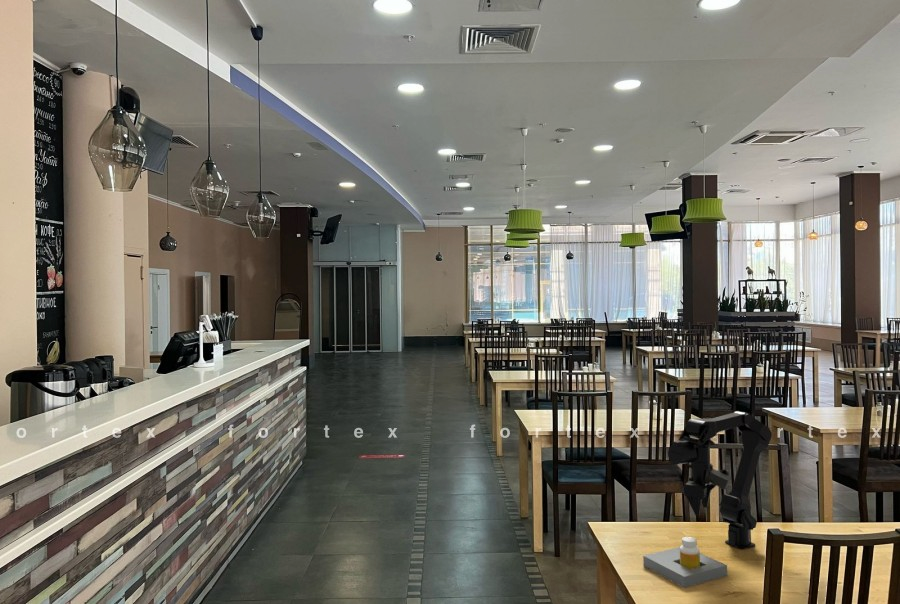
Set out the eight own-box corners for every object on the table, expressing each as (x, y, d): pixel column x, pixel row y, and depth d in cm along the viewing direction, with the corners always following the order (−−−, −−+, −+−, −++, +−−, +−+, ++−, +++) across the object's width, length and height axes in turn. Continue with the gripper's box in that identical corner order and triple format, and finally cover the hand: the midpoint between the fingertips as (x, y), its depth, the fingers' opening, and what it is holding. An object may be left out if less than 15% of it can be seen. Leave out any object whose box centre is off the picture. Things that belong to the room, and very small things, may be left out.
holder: (684, 555, 188) (684, 545, 188) (727, 575, 173) (727, 565, 173) (643, 565, 181) (643, 555, 181) (684, 587, 166) (684, 576, 166)
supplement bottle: (702, 578, 172) (701, 543, 172) (681, 576, 173) (680, 542, 173) (698, 570, 177) (697, 536, 177) (678, 568, 178) (677, 535, 179)
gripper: (720, 470, 177) (722, 525, 176) (734, 457, 192) (736, 507, 192) (681, 465, 183) (682, 518, 183) (697, 453, 198) (698, 501, 198)
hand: (701, 511), depth 189 cm, fingers open, 9 cm apart
